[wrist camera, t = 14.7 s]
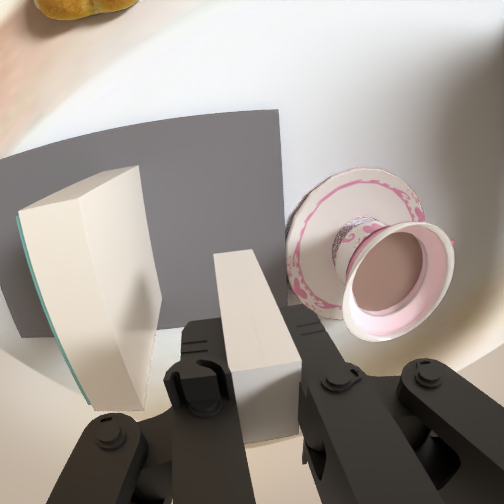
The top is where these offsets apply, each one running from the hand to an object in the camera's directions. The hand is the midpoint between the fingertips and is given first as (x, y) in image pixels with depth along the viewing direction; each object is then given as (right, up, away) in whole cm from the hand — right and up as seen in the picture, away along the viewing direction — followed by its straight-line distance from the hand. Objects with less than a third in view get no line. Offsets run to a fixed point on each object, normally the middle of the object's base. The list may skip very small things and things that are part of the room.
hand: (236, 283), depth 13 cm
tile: (-7, +2, +7) cm, 10 cm away
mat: (-8, +2, +7) cm, 11 cm away
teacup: (+9, +2, +10) cm, 14 cm away
